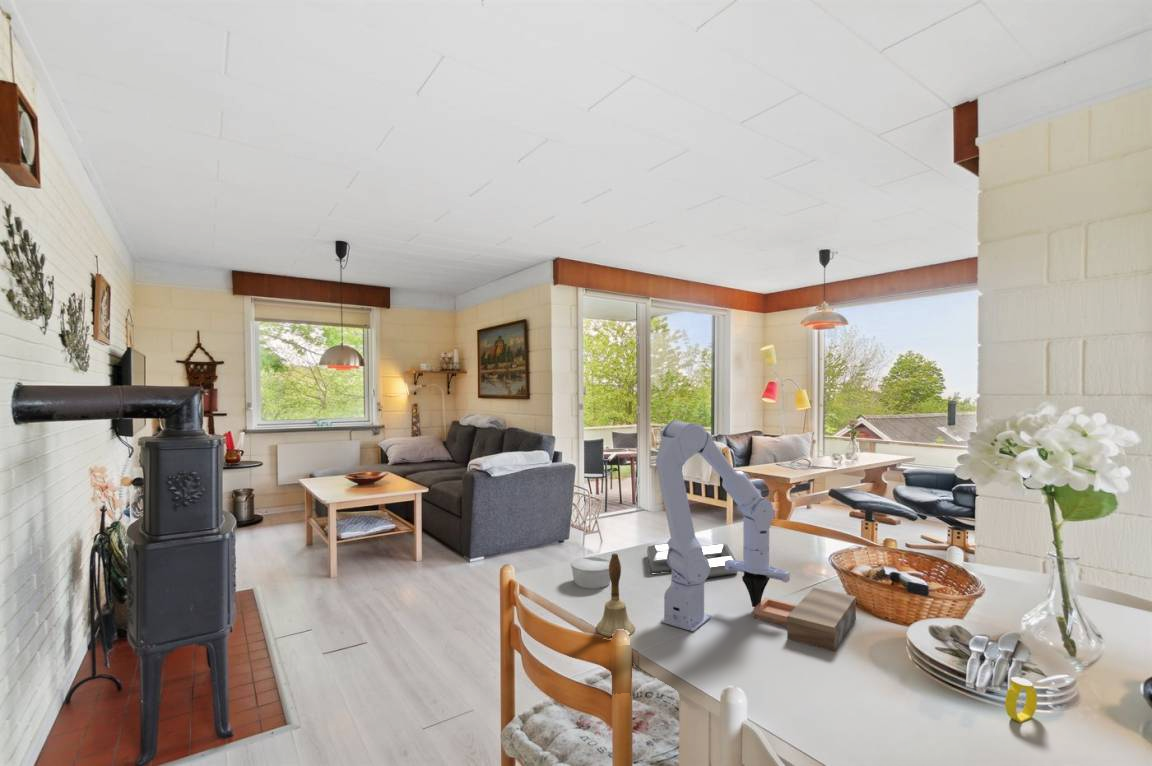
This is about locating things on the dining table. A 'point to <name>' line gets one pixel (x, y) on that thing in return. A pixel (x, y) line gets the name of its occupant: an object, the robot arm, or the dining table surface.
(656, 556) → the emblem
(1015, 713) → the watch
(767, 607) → the shallow pink tray
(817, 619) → the wooden block
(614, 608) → the hand bell
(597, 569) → the ramekin
